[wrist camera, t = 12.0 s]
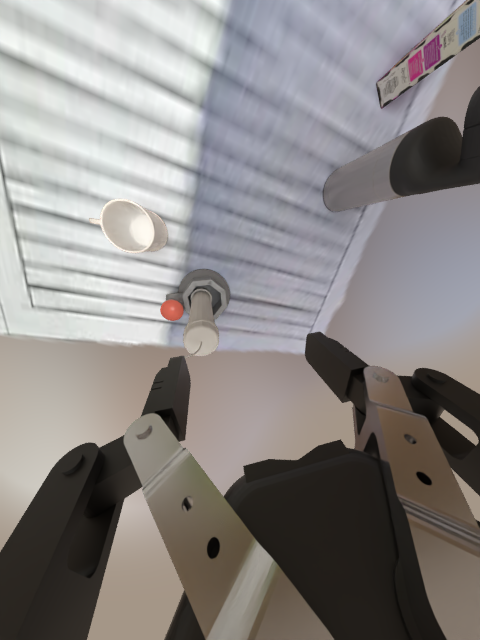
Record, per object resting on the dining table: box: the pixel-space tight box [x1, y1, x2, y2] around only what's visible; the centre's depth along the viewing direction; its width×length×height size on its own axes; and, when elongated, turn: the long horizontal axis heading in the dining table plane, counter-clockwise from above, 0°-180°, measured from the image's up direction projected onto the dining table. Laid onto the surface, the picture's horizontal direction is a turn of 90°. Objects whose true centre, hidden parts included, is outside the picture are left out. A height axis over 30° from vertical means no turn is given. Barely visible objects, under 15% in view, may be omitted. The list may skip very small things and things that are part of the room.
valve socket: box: [160, 269, 230, 321], centre depth 43 cm, size 17×14×10 cm
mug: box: [89, 199, 168, 253], centre depth 33 cm, size 12×8×12 cm
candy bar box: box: [377, 0, 480, 108], centre depth 30 cm, size 11×5×16 cm, turn 129°
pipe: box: [183, 287, 219, 358], centre depth 33 cm, size 6×6×30 cm
